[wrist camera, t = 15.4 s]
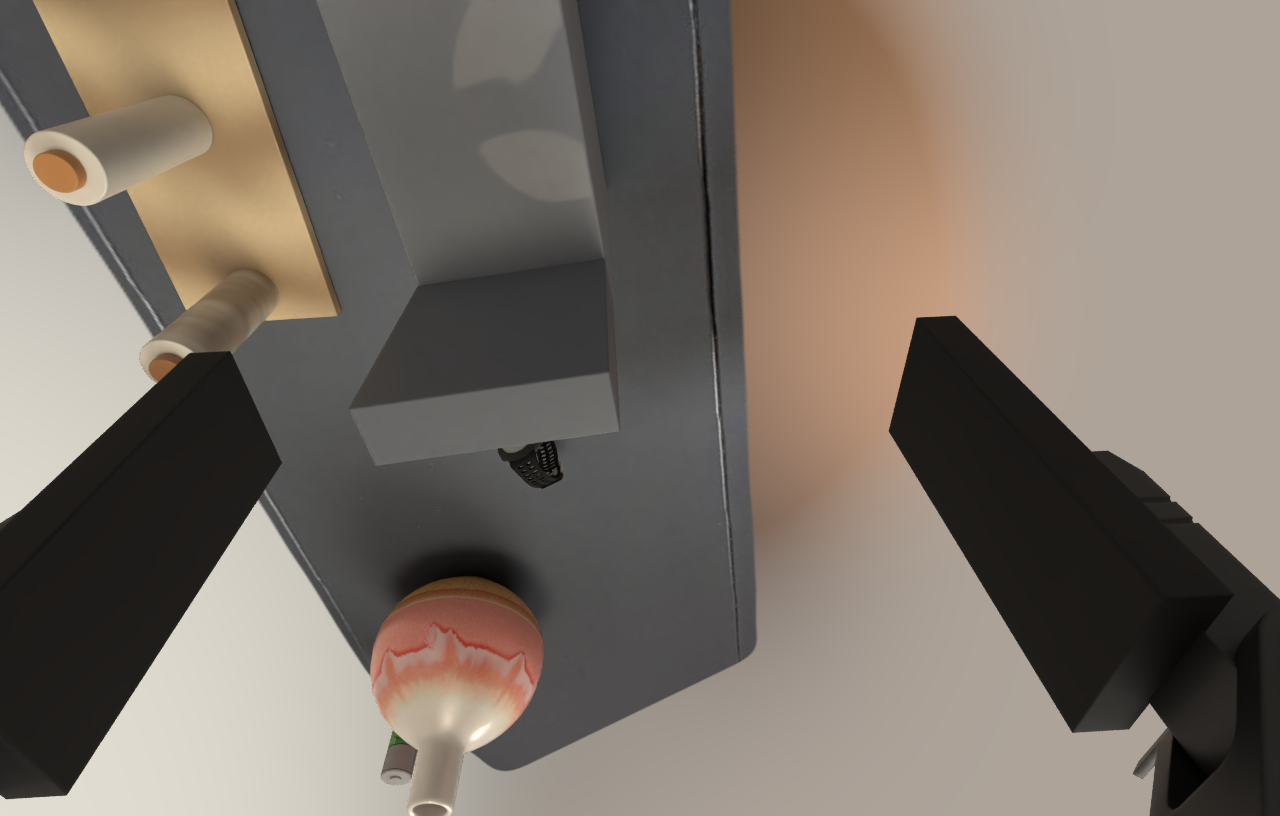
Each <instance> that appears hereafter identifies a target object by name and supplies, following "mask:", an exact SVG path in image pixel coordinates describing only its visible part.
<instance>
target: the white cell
mask: <svg viewBox="0 0 1280 816" xmlns="http://www.w3.org/2000/svg"><path fill="white" fill-rule="evenodd" d="M212 138H213V134H212V128H211V125H210V123H209V121H208V119H207V117H206V116H205V114H204V113H203V112H202V111H201V110H200V109H199V108H198V107H197V106H196V105H195V104H193V103H192V102H190V101H189V100H187V99H185V98H182V97H180V96H176V95H164V96H161V97H157V98H154V99H150V100H147V101H143V102H140V103H136V104H133V105H129V106H126V107H122V108H119V109H115V110H112V111H108V112H105V113H101V114H98V115H94V116H91V117H87V118H84V119H80V120H77V121H73V122H70V123H66V124H63V125H59V126H56V127H52V128H49V129H45V130H42V131H39V132H36V133H34V134H32V135H31V136H30V137H29V138H28V139H27V141H26V143H25V146H24V160H25V163H26V166H27V168H28V170H29V172H30V173H31V175H32V176H33V178H34V179H35V180H36V182H37V183H38V184H39V185H40V186H41V187H42V188H43V189H44V190H46V191H47V192H48V193H50V194H51V195H53V196H54V197H56V198H58V199H60V200H62V201H64V202H67V203H70V204H75V205H82V206H84V205H92V204H96V203H98V202H100V201H102V200H104V199H106V198H109V197H111V196H113V195H115V194H117V193H119V192H122V191H124V190H126V189H128V188H130V187H132V186H134V185H137V184H139V183H141V182H143V181H145V180H147V179H150V178H152V177H154V176H156V175H158V174H160V173H162V172H165V171H167V170H169V169H171V168H173V167H175V166H178V165H180V164H182V163H184V162H186V161H188V160H191V159H193V158H195V157H197V156H199V155H201V154H203V153H205V152H206V151H207V150H208V149H209V148H210V146H211V143H212Z"/></svg>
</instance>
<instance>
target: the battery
mask: <svg viewBox="0 0 1280 816" xmlns="http://www.w3.org/2000/svg"><path fill="white" fill-rule="evenodd" d="M417 752H418V750H416V749H415V748H414V747H412V746H411V745H409V744H408V743H407V742H405V741H404V740H403V739H402V738H401V737H400V736H398V735H397V734H396V733H395V732H394V731H393V732H392V736H391V739H390V743H389V747H388V750H387V754H386V758H385V762H384V765H383V769H382V773H381V779H382V780H383V781H384V782H386V783H387V784H391V785H403V784H406V783H408V782H409V781H410V780H411V778H412V774H413V770H414V765H415V761H416V756H417Z"/></svg>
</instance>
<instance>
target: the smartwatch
mask: <svg viewBox="0 0 1280 816" xmlns="http://www.w3.org/2000/svg"><path fill="white" fill-rule="evenodd" d="M549 442H550V443H551V444H550V445H549V446H546V444H548V443H549ZM542 446H543V447H544V448H543V449H539V447H542ZM550 446H552V448H551V449H550V450H547V449H548V448H549V447H550ZM542 450H545V452H544V453H541V451H542ZM552 450H553V452H552V453H551V454H549V452H551V451H552ZM498 453H499V455H500V457H501V459H502V460H503V461H508V462H510V466H511V468H512V469H513V470H514V471H515V472H516V473H517V474H518V475H519V476H520V477H521V478H522V479H523V480H524V481H525V482H526V483H527V484H529V485H530V486H532V487H535V488H542V489H543V488H545V487H547V486H550V485H552V484H554V483H556V482H558V481H560V480H561V479H562V478H563V464H562V462H558V455H557V449H556V446H555V443H554V440H553V441H547V442H539V443H532V444H525V445H518V446H511V447H504V448H498ZM536 453H537V456H538V460H537V457H536ZM544 454H546V456H545V457H542V455H544ZM553 454H554V456H552V457H550V456H551V455H553ZM545 458H546V460H544V461H542V459H545ZM553 458H554V459H553ZM551 459H553V460H551ZM550 460H551V461H550ZM529 461H531V463H530V464H527V463H528V462H529ZM538 461H539V463H538ZM544 462H547V463H545V464H543V463H544ZM552 462H554V463H552ZM551 463H552V464H551ZM550 464H551V465H550ZM546 465H548V466H546ZM520 466H523V467H520ZM532 466H534V467H533V468H530V467H532ZM544 466H546V467H544ZM524 470H526V471H524ZM535 470H538V471H537V472H535V473H533V472H534V471H535ZM552 470H554V471H553V472H552ZM548 472H549V473H548ZM528 474H529V475H528ZM538 474H539V475H538ZM525 475H528V476H525ZM537 475H538V476H537ZM529 478H531V479H529ZM535 480H536V481H535Z"/></svg>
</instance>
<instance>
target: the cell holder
mask: <svg viewBox="0 0 1280 816" xmlns="http://www.w3.org/2000/svg"><path fill="white" fill-rule="evenodd" d="M33 2H34V4H35V6H36V8H37V10H38V12H39V14H40V16H41V18H42V20H43V22H44V24H45V26H46V28H47V30H48V32H49V34H50V36H51V38H52V40H53V42H54V44H55V46H56V48H57V50H58V52H59V54H60V56H61V58H62V60H63V63H64V65H65V67H66V69H67V71H68V73H69V75H70V77H71V79H72V81H73V83H74V85H75V87H76V89H77V91H78V93H79V95H80V97H81V99H82V101H83V103H84V105H85V107H86V109H87V111H88V113H89V115H90V117H91V116H94V115H98V114H101V113H105V112H108V111H112V110H115V109H119V108H122V107H126V106H129V105H133V104H136V103H140V102H143V101H147V100H150V99H154V98H157V97H161V96H164V95H176V96H180V97H182V98H185V99H187V100H189V101H190V102H192V103H193V104H195V105H196V106H197V107H198V108H199V109H200V110H201V111H202V112H203V113H204V114H205V116H206V117H207V119H208V121H209V123H210V125H211V128H212V134H213V138H212V143H211V146H210V148H209V149H208V150H207V151H206V152H205V153H203V154H201V155H199V156H197V157H195V158H193V159H191V160H188V161H186V162H184V163H182V164H180V165H178V166H175V167H173V168H171V169H169V170H167V171H165V172H162V173H160V174H158V175H156V176H154V177H152V178H150V179H147V180H145V181H143V182H141V183H139V184H137V185H134V186H132V187H130V188H128V189H126V190H127V192H128V194H129V196H130V198H131V200H132V202H133V204H134V206H135V208H136V210H137V212H138V214H139V216H140V218H141V220H142V222H143V224H144V226H145V228H146V230H147V232H148V234H149V236H150V238H151V240H152V242H153V244H154V246H155V248H156V250H157V252H158V254H159V256H160V258H161V260H162V262H163V264H164V266H165V268H166V270H167V272H168V274H169V276H170V278H171V280H172V282H173V284H174V286H175V288H176V290H177V292H178V294H179V296H180V299H181V301H182V303H183V305H184V307H185V309H186V311H185V312H184V313H183V314H182V315H180V316H179V317H178V318H177V319H176V320H174V321H173V322H172V323H171V324H170V325H168V326H167V327H166V328H165V329H164V330H162V331H161V332H160V333H159V334H158V335H156V336H155V337H154V338H153V339H152V340H150V341H149V342H148V343H147V344H146V345H144V346H143V348H142V349H141V351H140V363H141V366H142V368H143V370H144V371H145V373H146V374H147V375H148V376H149V377H150V378H151V379H152V380H153V381H155V382H156V383H158V382H159V381H160V380H161V379H162V378H163V377H164V376H165V375H166V374H167V373H168V372H169V371H171V370H172V369H173V368H174V367H175V366H176V365H177V364H178V363H179V362H180V361H181V360H182V359H183V358H184V357H185V356H187V355H188V354H189V353H198V352H219V351H231V354H233V353H234V352H235V351H236V350H237V349H238V347H239V346H240V345H241V344H242V343H243V342H244V341H245V340H246V339H247V338H248V337H249V336H250V335H251V334H252V333H253V332H254V331H255V330H256V329H257V327H258V326H259V325H260V324H261V323H262V322H263V321H267V320H282V319H298V318H313V317H328V316H338V314H339V313H340V312H341V309H340V306H339V303H338V300H337V297H336V294H335V291H334V288H333V285H332V283H331V280H330V277H329V274H328V271H327V268H326V265H325V262H324V259H323V256H322V253H321V251H320V248H319V245H318V242H317V239H316V236H315V233H314V230H313V227H312V224H311V221H310V218H309V216H308V213H307V210H306V207H305V204H304V201H303V198H302V195H301V192H300V189H299V186H298V183H297V181H296V178H295V175H294V172H293V169H292V166H291V163H290V160H289V157H288V154H287V151H286V149H285V146H284V143H283V140H282V137H281V134H280V131H279V128H278V125H277V122H276V119H275V116H274V114H273V111H272V108H271V105H270V102H269V99H268V96H267V93H266V90H265V87H264V84H263V82H262V79H261V76H260V73H259V70H258V67H257V64H256V61H255V58H254V55H253V52H252V49H251V47H250V44H249V41H248V38H247V35H246V32H245V29H244V26H243V23H242V20H241V17H240V15H239V12H238V9H237V6H236V3H235V0H33Z"/></svg>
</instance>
